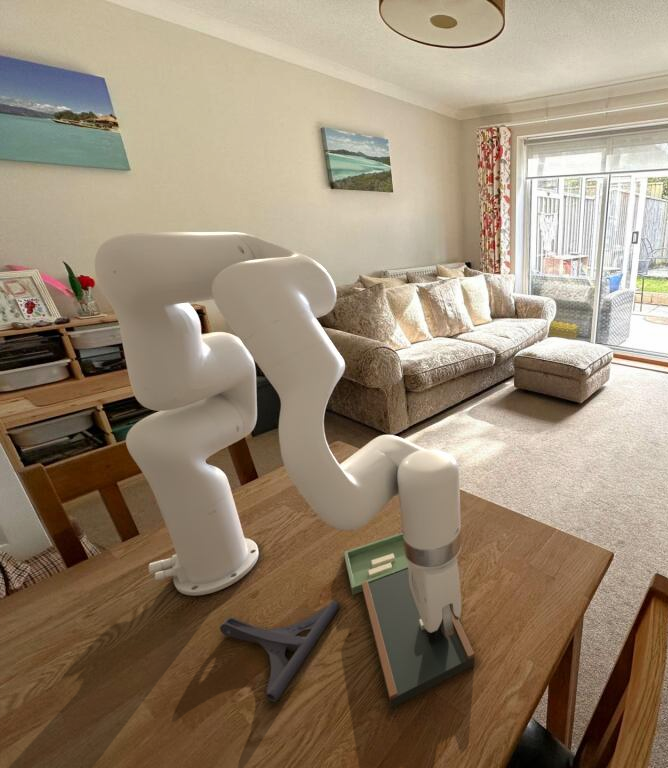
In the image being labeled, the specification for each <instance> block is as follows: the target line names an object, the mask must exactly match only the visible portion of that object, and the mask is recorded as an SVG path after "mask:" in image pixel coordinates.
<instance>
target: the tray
mask: <svg viewBox="0 0 668 768" xmlns="http://www.w3.org/2000/svg"><path fill="white" fill-rule="evenodd" d="M390 554H394V557H395V562H392V563H391V565H392V571H390V572H387V573H384V574H382V575H379V576H376V577H374V578H371V579H370V578H369V574H368V570H371V569H373V568H372V563H371V561H372V560H374V559H377V558H380V557H383V556H386V555H390ZM343 557H344V561H345V568H346V571H347V575H348V581H349V586H350V589H351V594H352V595H353V596H355V595H357V594H359V593H363V590H362V583H364V582H367V581H368V584H369V583H372V582H374V581H377V580H380V579H382V578H385V577H388V576H390V575H393V574H396V573H398V572H401V571H404V570H406V569H408V562H407V560H406V558H405V554H404V544H403V532H399V533H396V534H394V535H391V536H387V537H384V538H382V539H381V538H380V539H379V540H376V541H372V542H369V543H367V544H363V545H360V546H357V547H353V548H350V549H348V550H345V551H343Z"/></svg>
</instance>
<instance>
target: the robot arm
mask: <svg viewBox="0 0 668 768" xmlns="http://www.w3.org/2000/svg"><path fill="white" fill-rule="evenodd" d="M94 270H95V272H94V273H95V275H96V279H97V282H98V284H99V287H100V289H101V291H102V293H103V295H104V296H105V298H106V300H107V302H108V303H109V305H110V307H111V308H112V310H113V312H114V314H115V316H116V319H117V323H118V326H119V330H120V331H119V332H120V337H121V343H122V349H123V353H124V358H125V359H124V360H125V363H126V369H127V374H128V379H129V383H130V387H131V391H132V394H133V396H134V397H135V399H136V401H137V402H138V403H139V404H140V405H142V406H143V407H144V408H146V409H149V410H151V411H157V412H154V413H151V414H149V415H147V416H146V417H144V418H142V419H140V420H139V421H137V422H136V423H135V424H133V426H131V428H130V429H129V430H128V431H127V434H126V436H125V445H126V448H127V451H128V453H129V455H130V456H131V458H132V460H133V461H134V462H135V464H136V465H137V467H138V468H139V470H140V471H141V472H142V474H143V476H144V477H145V479H146V481H147V483H148V485H149V486H150V488H151V491H152V494H153V495H154V498H155V500H156V503H157V506H158V508H159V511H160V513H161V516H162V518H163V521H164V524H165V527H166V530H167V532H168V535H169V537H170V541H171V543H172V545H173V548H174V552H175V554H173V555H172V556H171V557H169V558H166V559H161V560H157V561H153V562H150V563H149V564H148V572H149V574H150V575H151V576H152V575H154V580H155V581H156V582H159V581H162V580H165V579H167V578H170V577H171V578H172V577H173V584H174V588H175V589H176V590H177V591H178V592H179V593H181V594H183V595H186V596H195V597H196V596H204V595H208V594H212V593H216V592H219V591H221V590H224V589H225V588H228V587H229V586H231V585H233V584H236V582H239V580H241V579H243V577H245V576H246V575H247V574H248V573H249V572H250V571H251V570H252V569H253V568H254V566H255V565H256V563H257V561H258V559H259V554H260V552H259V547H258V545H257V543H256V542H255V541H254V540H252V539H250V538H247V537H245V535H244V531H243V528H242V524H241V521H240V518H239V517H240V516H239V514H238V510H237V506H236V503H235V499H234V496H233V493H232V489H231V485H230V483H229V479H228V476H227V475H226V473H225V472H224V471H222V470H221V469H220V468H219V467H217V466H214V465H212V464H209V463H207V460H208V458H210V457H211V456H213V455H215V454H217V453H218V452H219V451H221V450H224V449H225V448H227V447H229V446H231V445H233V444H235V443H237V442H239V441H241V440H243V439H244V438H245V437H247V436H249V435H250V434H251V433H252V432H253V431H254V429H255V427H256V424H257V420H258V401H257V397H258V396H257V395H258V394H257V369H256V365H257V367H258V368H259V369H260V370H261V372H262V373H263V374H264V377H266V378H267V380H268V382H269V383H270V384H271V385H272V387H273V388H274V390H275V391H276V393H277V394H278V398H279V400H280V410H279V419H278V442H279V449H280V454H281V458H282V463H283V467H284V469H285V471H286V473H287V476H288V477H289V479H290V481H291V482H292V484H293V485H294V487H296V489H297V490H298V492H299V493H300V494H301V496H302V497H303V498H304V500H305V502H306V503H307V504H308V505H309V506H310V508H311V509H312V510H313V512H314V513H315V514H316V515H317V516H318V517H319V518H320V519H321V520H322V521H323V522H325V523H326V524H327V525H328V526H330V527H332V528H333V529H336V530H339V531H343V532H344V531H345V532H352V531H355V530H359V529H360V528H363V527H364V526H366V525H367V524H369V523H370V521H372V519H373V518H375V516H377V515H378V514H379V512H380V511H381V510H383V508H384V507H385V506H386V505H387V504H388V503H389V502H390V501H391V500H392V499H393V498H394V497H396V496H398V500H399V510H400V519H401V521H400V522H401V529H402V532H401V533H403V544H404V554H405V558H406V560H407V562H408V577H409V585H410V589H411V592H412V595H413V598H414V600H415V603H416V606H417V609H418V611H419V614H420V617H421V619H422V622H423V624H424V627H425V629H426V635H427V637H428V640H429V643H430V644H432V643H434V642H436V641H441V640H443V639H444V638H446V637H448V636H451V635H453V634H454V631H453V623H452V615H451V612H452V613H453V615H454V617H455V620H456V619H457V620H459V621H460V618H461V616H462V594H461V592H462V591H461V582H460V571H459V566H458V556H459V555H460V553H461V550H462V527H461V523H462V522H461V487H460V467H459V464H458V461H457V460H456V459H455V458H454V456H453V455H451V454H450V453H448V452H446V451H443V450H439V449H425V448H423V447H421V446H419V445H417V444H415V443H413V442H411V441H409V440H408V439H407V440H406V439H405V438H403V437H401V436H400V437H399V436H397V435H394V434H382V435H378V436H377V437H374V438H373V439H372V440H370V441H368V443H366V444H365V445H364V446H362V447H361V448H360V449H358V450H357V451H356V452H355V453H353V454H351V455H350V456H349V457H347V458H346V459H345V460H344V461H342V462H341V463H339V462H338V460H337V459H336V457H335V456H334V454H333V452H332V451H331V449H330V446H329V443H328V441H327V438H326V437H327V436H326V433H325V422H324V421H325V413H326V409H327V406H328V402H329V400H330V398H331V396H332V394H333V391H334V389H335V387H336V386H337V384H338V383H339V381H340V379H341V378H342V376H343V375H344V373H345V369H346V362H345V359H344V357H343V356H342V355H341V353H340V352H339V351H338V349H337V348H336V346H335V345H334V343H333V342H332V340H331V339H330V337H329V335H328V334H327V333H326V331H325V330H324V327H323V326H322V325H321V323H320V322H319V320H318V318H322V317H324V316H327V315H329V314H330V313H331V312H332V311H333V309H334V307H335V306H336V302H337V295H338V293H337V288H336V285H335V282H334V280H333V278H332V277H331V275H330V273H329V272H328V271H327V270H326V268H325V267H323V266H322V264H320V263H319V262H318V261H316V260H315V259H313V258H311V257H309V256H307V255H305V254H303V253H300V252H298V251H296V250H293V249H291V248H287V247H285V246H282V245H279V244H277V243H274V242H272V241H269V240H266V239H264V238H262V237H259V236H255V235H252V234H249V233H246V232H245V233H244V232H239V231H238V232H237V231H236V232H235V231H232V232H231V231H207V232H206V231H197V232H196V231H159V232H156V231H155V232H153V231H152V232H139V233H138V232H136V233H128V234H122V235H118V236H114V237H111V238H109V239H107V240H105V241H104V242H102V244H101V245H100V246H99V247H98V249H97V251H96V254H95V257H94ZM212 300H213V302H214V304H215V305H216V307H217V309H218V310H219V312H220V314H221V315H222V317H223V318H224V319H225V321H226V322H227V324H228V325H229V326H230V328H231V330H232V331H233V332H234V334H235V335H234V334H232V333H229V332H224V331H215V332H208V333H202V325H201V320H200V317H199V315H198V313H197V310H195V308H194V307H193V305H191V303H197V302H205V301H212Z"/></svg>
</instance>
